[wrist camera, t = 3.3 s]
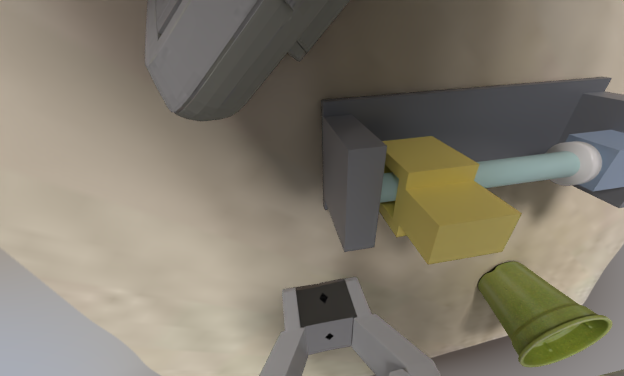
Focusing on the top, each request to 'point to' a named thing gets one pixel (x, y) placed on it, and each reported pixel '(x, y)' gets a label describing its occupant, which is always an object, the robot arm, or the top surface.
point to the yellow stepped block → (443, 202)
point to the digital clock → (226, 48)
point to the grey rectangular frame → (473, 142)
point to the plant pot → (539, 316)
